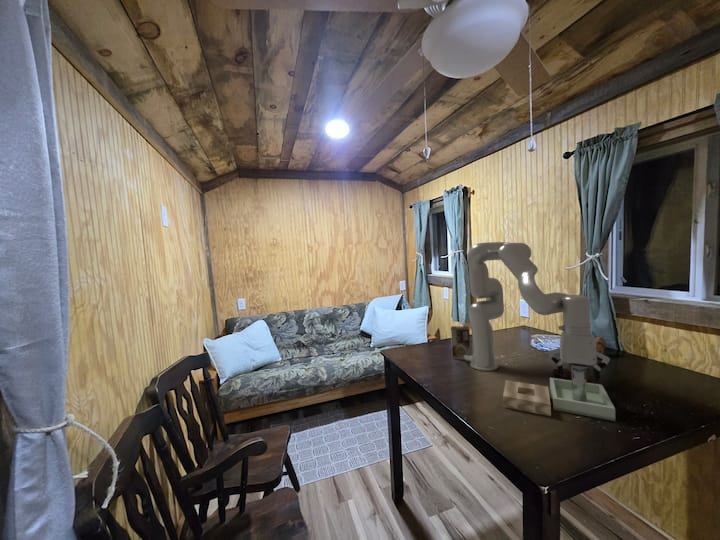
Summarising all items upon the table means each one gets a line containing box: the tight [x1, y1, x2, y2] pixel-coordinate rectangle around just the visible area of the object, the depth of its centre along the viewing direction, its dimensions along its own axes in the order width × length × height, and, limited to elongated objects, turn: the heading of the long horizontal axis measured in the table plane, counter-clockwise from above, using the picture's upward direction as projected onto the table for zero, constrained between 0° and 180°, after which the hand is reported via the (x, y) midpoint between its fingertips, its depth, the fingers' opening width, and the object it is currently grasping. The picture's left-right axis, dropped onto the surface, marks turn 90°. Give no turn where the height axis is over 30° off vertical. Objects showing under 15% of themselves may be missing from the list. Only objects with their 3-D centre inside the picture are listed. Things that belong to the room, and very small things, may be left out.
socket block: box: [502, 379, 552, 417], centre depth 102 cm, size 14×14×4 cm
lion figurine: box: [594, 336, 606, 355], centre depth 138 cm, size 15×5×9 cm, turn 117°
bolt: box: [552, 368, 601, 385], centre depth 115 cm, size 6×5×15 cm
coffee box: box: [450, 325, 472, 360], centre depth 148 cm, size 9×6×16 cm
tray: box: [549, 377, 616, 422], centre depth 99 cm, size 16×18×4 cm
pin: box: [567, 363, 591, 402], centre depth 99 cm, size 6×6×13 cm
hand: (578, 378), depth 99 cm, fingers open, 9 cm apart
